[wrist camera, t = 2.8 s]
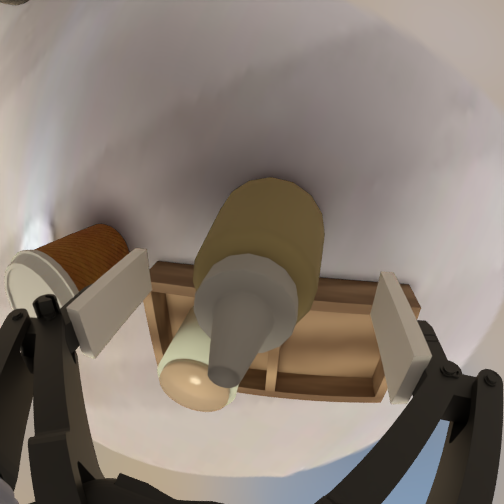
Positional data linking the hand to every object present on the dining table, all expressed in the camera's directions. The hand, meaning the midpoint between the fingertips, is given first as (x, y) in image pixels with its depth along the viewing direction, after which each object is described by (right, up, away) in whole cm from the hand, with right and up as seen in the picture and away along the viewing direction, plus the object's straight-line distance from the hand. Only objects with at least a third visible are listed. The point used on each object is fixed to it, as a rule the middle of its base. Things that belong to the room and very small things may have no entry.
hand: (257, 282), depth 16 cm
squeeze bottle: (+2, +5, +10) cm, 11 cm away
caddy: (+2, -6, +15) cm, 16 cm away
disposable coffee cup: (-16, +2, +14) cm, 22 cm away
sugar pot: (-4, -6, +14) cm, 16 cm away
